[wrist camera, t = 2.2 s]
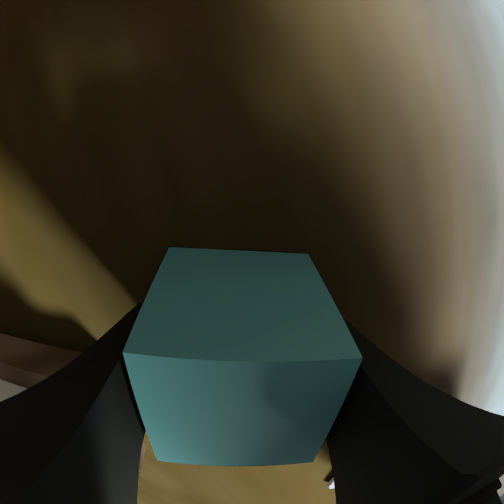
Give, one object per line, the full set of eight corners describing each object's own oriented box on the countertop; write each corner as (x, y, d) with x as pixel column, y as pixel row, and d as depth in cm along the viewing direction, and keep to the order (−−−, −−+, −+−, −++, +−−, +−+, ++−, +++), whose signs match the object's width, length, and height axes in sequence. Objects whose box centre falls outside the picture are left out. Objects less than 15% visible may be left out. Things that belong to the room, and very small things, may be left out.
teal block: (307, 252, 10) (362, 357, 5) (288, 354, 12) (312, 461, 7) (169, 246, 9) (122, 352, 5) (176, 351, 11) (157, 460, 7)
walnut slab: (118, 348, 12) (101, 389, 9) (146, 440, 15) (140, 472, 13) (-6, 323, 11) (-29, 350, 9) (41, 414, 14) (29, 441, 12)
